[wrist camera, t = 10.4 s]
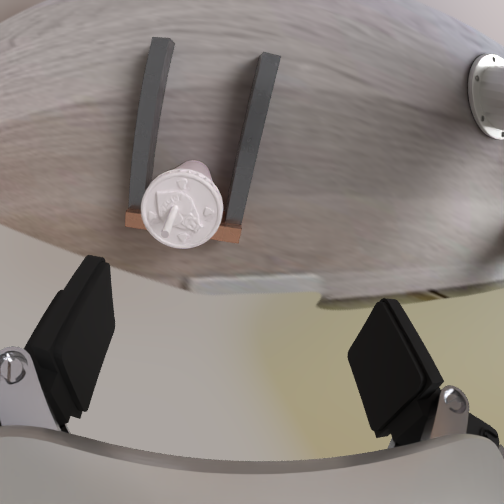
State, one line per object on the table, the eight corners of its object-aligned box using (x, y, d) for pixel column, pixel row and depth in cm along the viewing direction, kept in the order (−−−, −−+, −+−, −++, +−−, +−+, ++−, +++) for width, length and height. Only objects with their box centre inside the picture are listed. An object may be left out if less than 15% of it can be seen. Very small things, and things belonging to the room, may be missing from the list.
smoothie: (192, 134, 28) (166, 168, 16) (236, 176, 31) (244, 239, 19) (151, 178, 30) (105, 241, 18) (194, 216, 33) (178, 297, 20)
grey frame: (275, 59, 25) (282, 54, 21) (236, 226, 34) (238, 243, 30) (159, 42, 23) (149, 35, 19) (135, 211, 31) (125, 226, 28)
